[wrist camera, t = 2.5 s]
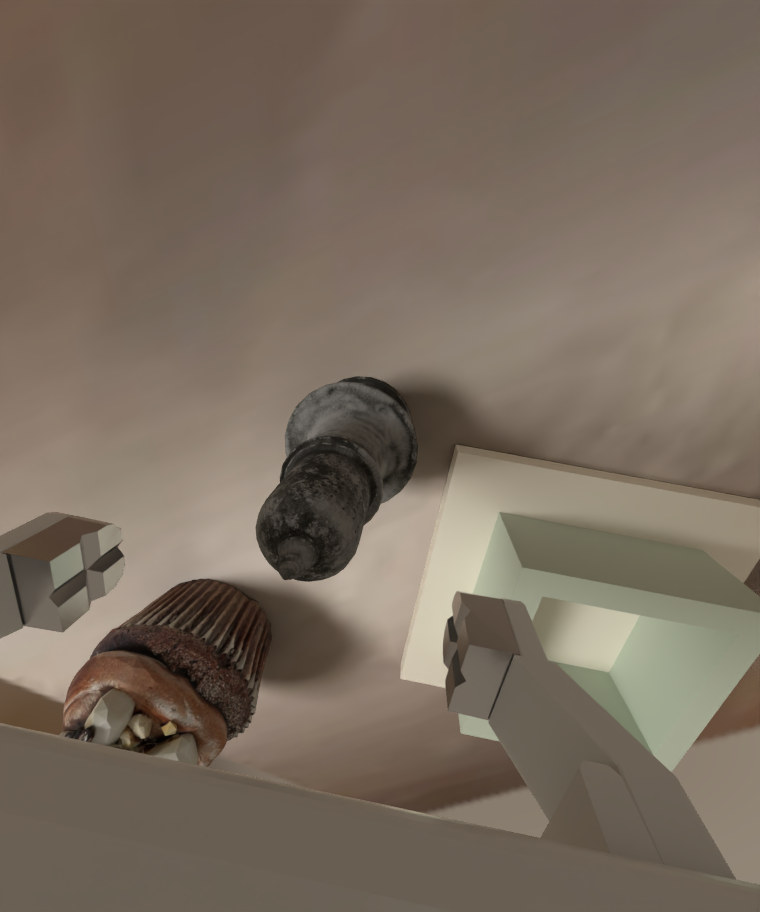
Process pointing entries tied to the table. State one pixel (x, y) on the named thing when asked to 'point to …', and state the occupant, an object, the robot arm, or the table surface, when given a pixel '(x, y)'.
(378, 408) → the dark chess piece
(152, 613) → the cupcake
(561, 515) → the stand
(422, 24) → the table surface
